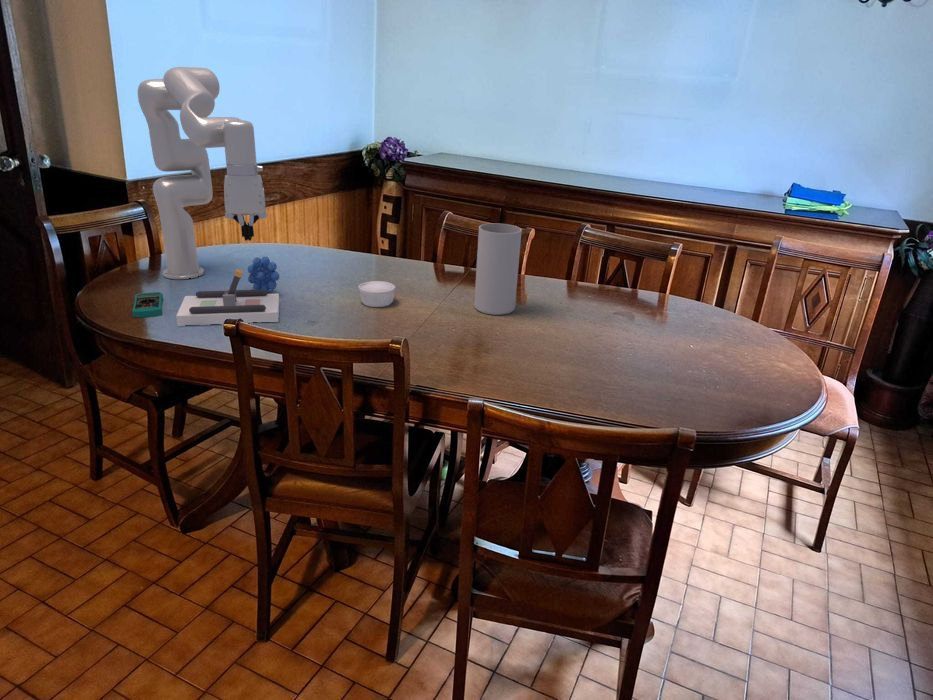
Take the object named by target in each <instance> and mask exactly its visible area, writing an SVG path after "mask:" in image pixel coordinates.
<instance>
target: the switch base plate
mask: <svg viewBox="0 0 933 700" xmlns="http://www.w3.org/2000/svg"><path fill="white" fill-rule="evenodd" d="M229 289H230V288H227V289H226V288H225V289H224V290H223V291H224V294H225V295H223V297H201V298H198V297H197V296H196V295H185V296H184V298H183V300H182V303H181V305H180V306H179V309H178V311H177V313H176V325H177V327H186V326H185V325H200V326H206V325H205V324H221V325H220V326H223V322H224V320H226V319H229V318H241V319H243V320H244V321H245V322H247V323H250V324H249V325H252V324H254V323H251V322H278V323H279V319H278V318H279V316H280V315H279V314H280V294H279V293H267V295H266V296H237V297H236V291H235V293H234V294H226V293H227V292H229ZM234 295H235V296H234ZM237 305H265V307H266V310H265V311H255V312H225V313H195V314H192V313H190V312H189V309H190V308H191V307H205V306H237Z"/></svg>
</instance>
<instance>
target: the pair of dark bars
mask: <svg viewBox="0 0 933 700" xmlns="http://www.w3.org/2000/svg"><path fill="white" fill-rule="evenodd" d="M267 294H269V292H267V290H254V289H241V290H240V289H238V290H237V289H236V297H237V296H266V295H267ZM223 295H225V294H224V290H200V291H196V292H195V296H197V297H198V298H201V297H223ZM265 310H266V307H265V305H237V306H205V307H191V308H190V309H189V312H190V313H192V314H195V313H225V312H255V311H265Z"/></svg>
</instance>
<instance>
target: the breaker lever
mask: <svg viewBox="0 0 933 700" xmlns="http://www.w3.org/2000/svg"><path fill="white" fill-rule="evenodd" d="M243 271H244V270H242V269H239V268H236V269H235V271H234V274H233V275H234V276H233V278H232V281H231V284H230V286H229V288H228V289H229V292H227V293H226V294H234V293H235V291H236V290H237V288H238V285H239V282H240V280H241V277H242V275H243ZM234 296H235V295H234Z"/></svg>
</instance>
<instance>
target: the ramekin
mask: <svg viewBox="0 0 933 700" xmlns="http://www.w3.org/2000/svg"><path fill="white" fill-rule="evenodd" d="M358 291H359V296H360V301H361V302H362V304H363V305H365V306H366V307H372V308H383V307H387V306H390V305H391V304H392V303H393V302H394V298H395V297H394V295H395V291H396V285H395V284H394V283H391V282H389V281H383V280H382V281H381V280H372V281H371V280H370V281H367V282H366V281H365V282H363V283H360V284H359V285H358Z"/></svg>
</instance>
